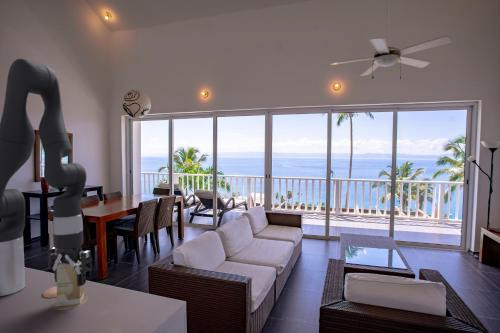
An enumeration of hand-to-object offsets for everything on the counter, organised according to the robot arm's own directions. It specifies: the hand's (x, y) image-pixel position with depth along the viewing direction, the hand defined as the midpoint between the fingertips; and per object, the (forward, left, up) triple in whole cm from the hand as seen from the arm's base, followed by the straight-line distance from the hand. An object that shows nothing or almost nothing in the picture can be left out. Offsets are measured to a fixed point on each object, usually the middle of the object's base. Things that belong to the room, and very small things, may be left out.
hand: (70, 283), depth 87 cm
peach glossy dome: (-10, +4, -6) cm, 12 cm away
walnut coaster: (0, 0, -6) cm, 6 cm away
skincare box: (0, 0, -6) cm, 6 cm away
